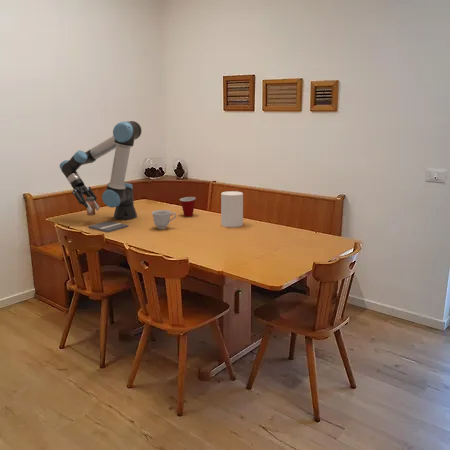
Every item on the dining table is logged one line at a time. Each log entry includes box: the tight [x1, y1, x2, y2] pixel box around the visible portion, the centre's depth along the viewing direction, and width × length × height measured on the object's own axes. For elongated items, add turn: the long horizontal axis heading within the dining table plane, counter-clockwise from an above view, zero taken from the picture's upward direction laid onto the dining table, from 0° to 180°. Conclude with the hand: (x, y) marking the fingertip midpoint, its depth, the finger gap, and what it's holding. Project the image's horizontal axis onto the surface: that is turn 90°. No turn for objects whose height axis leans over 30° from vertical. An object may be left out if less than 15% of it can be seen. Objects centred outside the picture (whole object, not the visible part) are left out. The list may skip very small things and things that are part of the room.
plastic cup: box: [179, 196, 196, 218], centre depth 328 cm, size 11×11×12 cm
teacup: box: [151, 209, 177, 230], centre depth 297 cm, size 12×15×10 cm
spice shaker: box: [85, 196, 96, 216], centre depth 306 cm, size 5×5×11 cm
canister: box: [220, 190, 244, 228], centre depth 304 cm, size 14×14×20 cm
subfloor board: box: [88, 220, 129, 233], centre depth 300 cm, size 16×18×1 cm
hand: (94, 210), depth 305 cm, fingers closed on spice shaker, 5 cm apart
